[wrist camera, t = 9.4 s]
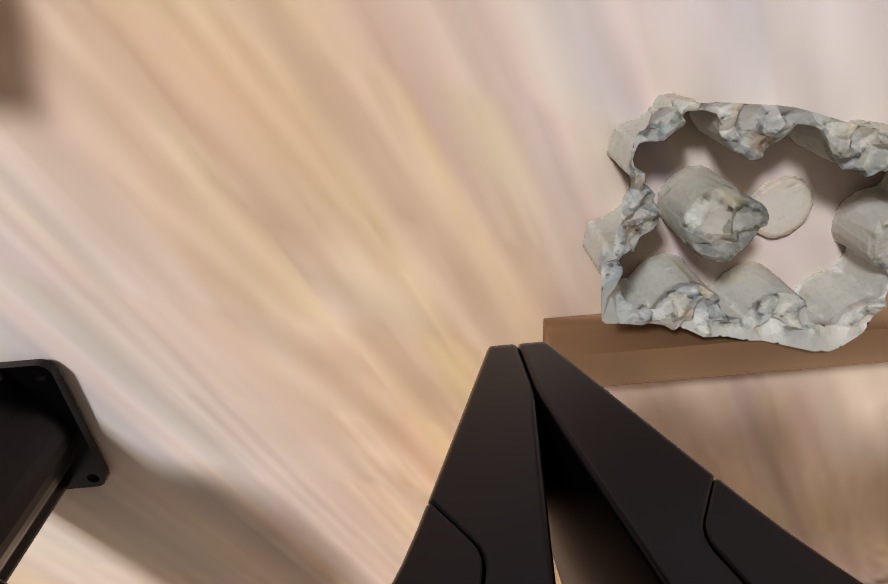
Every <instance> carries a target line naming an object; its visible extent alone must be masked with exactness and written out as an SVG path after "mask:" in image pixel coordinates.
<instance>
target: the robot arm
mask: <svg viewBox="0 0 888 584" xmlns="http://www.w3.org/2000/svg"><path fill="white" fill-rule="evenodd" d="M39 371H41V372H43V373H44V374H45V375H44V374H42V373H40V372H39ZM109 474H110V472H109V469H108V467H107V465H106V463H105V461H104V459H103V457H102V455H101V453H100V451H99V449H98V447H97V445H96V443H95V441H94V439H93V437H92V435H91V433H90V431H89V429H88V427H87V425H86V423H85V421H84V419H83V417H82V415H81V413H80V411H79V409H78V407H77V405H76V403H75V401H74V399H73V397H72V395H71V393H70V391H69V389H68V387H67V385H66V383H65V381H64V379H63V377H62V375H61V373H60V371H59V369H58V368H57V366H56V365H55V364H54V363H52V362H51V361H48V360H45V359H34V360H23V361H11V362H0V584H8V583H6V582H7V581H8V579H9V578H10V576H11V574H12V573H13V571H14V570H15V568H16V567H17V565H18V563H19V562H20V560H21V559H22V557H23V556H24V554H25V553H26V551H27V549H28V548H29V546H30V545H31V543H32V542H33V540H34V538H35V537H36V535H37V534H38V532H39V531H40V529H41V528H42V526H43V524H44V523H45V521H46V520H47V518H48V517H49V515H50V513H51V512H52V510H53V509H54V507H55V506H56V504H57V503H58V501H59V499H60V498H61V496H62V495H63V493H64V492H65V490H66V489H74V488H85V487H97V486H101V485H103V484H104V483H105V481H106V480H107V478H108V476H109ZM428 504H429V505H428V506H426V508H425V511H424V513H423V516H422V518H421V521H420V524H419V526H418V529H417V531H416V533H415V536H414V538H413V540H412V542H411V545H410V547H409V549H408V552H407V554H406V556H405V559H404V561H403V563H402V565H401V567H400V569H399V571H398V573H397V575H396V577H395V579H394V581H393V583H392V584H556V582H555V573H554V564H553V557H554V560H555V563H556V567H557V570H558V573H559V576H560V580H561V583H562V584H863V583H862V582H860V581H859V580H857V579H856V578H854V577H853V576H851V575H850V574H848V573H847V572H845V571H844V570H842V569H841V568H839V567H838V566H836V565H835V564H833V563H832V562H830V561H829V560H827V559H826V558H824V557H823V556H822V555H820V554H819V553H817V552H816V551H814V550H813V549H811V548H810V547H809V546H807V545H806V544H804V543H803V542H801V541H800V540H799V539H797V538H796V537H794V536H793V535H791V534H790V533H788V532H787V531H786V530H784V529H783V528H781V527H780V526H779V525H777V524H776V523H775V522H773V521H772V520H771V519H770V518H768V517H767V516H766V515H764V514H763V513H762V512H760V511H759V510H758V509H756V508H755V507H754V506H752V505H751V504H750V503H748V502H747V501H746V500H744V499H743V498H742V497H741V496H739V495H738V494H737V493H736V492H734V491H733V490H732V489H730V488H729V487H728V486H727V485H725V484H724V483H723V482H722V481H720V480H718V479H716V480H714V476H713V475H712V474H711V473H710V472H709V471H707V470H706V469H705V468H704V467H702V466H701V465H700V464H699V463H697V462H696V461H695V460H694V459H692V458H691V457H690V456H689V455H687V454H686V453H685V452H683V451H682V450H681V449H680V448H678V447H677V446H676V445H675V444H673V443H672V442H671V441H670V440H668V439H667V438H666V437H665V436H663V435H662V434H661V433H660V432H658V431H657V430H656V429H654V428H653V427H652V426H651V425H649V424H648V423H647V422H646V421H644V420H643V419H642V418H641V417H639V416H638V415H637V414H636V413H634V412H633V411H632V410H631V409H629V408H628V407H627V406H625V405H624V404H623V403H622V402H620V401H619V400H618V399H617V398H615V397H614V396H613V395H612V394H610V393H609V392H608V391H607V390H605V389H604V388H603V387H602V386H600V385H599V384H598V383H596V382H595V381H594V380H593V379H591V378H590V377H589V376H588V375H586V374H585V373H584V372H583V371H581V370H580V369H579V368H578V367H576V366H575V365H574V364H573V363H571V362H570V361H569V360H567V359H566V358H565V357H564V356H562V355H561V354H560V353H559V352H557V351H556V350H555V349H554V348H552V347H551V346H550V345H549V344H547V343H545V342H534V343H523V344H520V345H519V346H518V348H517V346H515V345H512V344H511V345H499V346H491V347H489V349H488V350H487V353H486V355H485V358H484V361H483V363H482V366H481V368H480V371H479V373H478V376H477V379H476V381H475V384H474V386H473V389H472V391H471V394H470V396H469V399H468V402H467V404H466V407H465V409H464V412H463V414H462V417H461V420H460V422H459V425H458V427H457V430H456V432H455V435H454V437H453V440H452V443H451V445H450V448H449V450H448V453H447V455H446V458H445V460H444V463H443V466H442V468H441V471H440V473H439V476H438V478H437V481H436V484H435V486H434V489H433V491H432V494H431V496H430V499H429V502H428ZM552 554H553V555H552Z"/></svg>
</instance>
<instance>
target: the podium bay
mask: <svg viewBox="0 0 888 584" xmlns="http://www.w3.org/2000/svg"><path fill="white" fill-rule="evenodd" d="M885 300H886V303H887V307H886V308H884V309H882V310H881V311H879V312H878V313H877V314H876V315H874V316H873V317H872V319H871V320H870V322H869V324H868V325H867V327H866V329H865V330H864V331H863V333H862V334H861V335H859V336H858V337H856V338H854V339H853V340H851V341H849V342H848V343H846V344H845V345H843V346H841V347H839V348H837V349H834V350H832V351H809V350H804V349H800V348H795V347H790V346H785V345H781V344H776V343H771V342H767V341H762V340H758V341H748V340H742V339H737V338H732V337H721V336H717V337H702V336H700V335H698V334H696V333H694V332H691V331H689V330H687V329H684V328H680V327H678V328H677V329H675V330H671V329H670V328H668V327H666V326H665V325H659V324H652V323H647V324H644V325H633V324H606V323H604V322H603V321H602V314H594V315H583V316H571V317H559V318H547V319H544V322H543V342H545V343H547V344H549V345H550V346H551V347H552V348H554V349H555V350H556V351H557V352H559V353H560V354H561V355H562V356H564V357H565V358H566V359H567V360H569V361H570V362H571V363H573V364H574V365H575V366H576V367H578V368H579V369H580V370H581V371H583V372H584V373H585V374H586V375H588V376H589V377H590V378H591V379H593V380H594V381H595V382H596V383H598V384H599V385H600V386H612V385H624V384H635V383H647V382H658V381H670V380H681V379H693V378H704V377H716V376H727V375H739V374H750V373H762V372H773V371H785V370H796V369H808V368H819V367H831V366H842V365H854V364H865V363H877V362H888V292H887V294H886V297H885Z"/></svg>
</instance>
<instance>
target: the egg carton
mask: <svg viewBox="0 0 888 584" xmlns="http://www.w3.org/2000/svg"><path fill="white" fill-rule="evenodd" d="M687 111H689V115H690V118H691V120H692V122H693V124H694V125H695V126H696V128H697V129H698V130H699V131H701V132H702V133H704V134H705V135H707V136H709V137H710V138H712V139H714V140H715V141H716V142H718V143H719V144H721V145H723V146H725V147H726V148H728V149H729V150H731V151H733V152H735V153H738V154H740V155H742V156H744V157H745V158H747V159H749V160H760V159H761V158H762V157H763V156H764V152H765V150H766V149H767V148H768V147H769V146H770V145H772V144H774V143H776V142H778V141H780V140H781V139H783V138H784V137H785V136H786V135H789V137H790V138H791V139H792V140H793V141H794V142H795V143H796V144H797V145H799V146H801V147H803V148H805V149H807V150H809V151H811V152H812V153H814V154H816V155H818V156H820V157H822V158H824V159H827V160H829V161H831V162H834V163H836V164H837V165H838V166H839V167H840V168H841V169H842V170H849V169H854V170H856V171H858V172H859V173H861V174H862V175H863V176H865V177H869V176H872V175H874V174H876V173H877V172H880V171H884V172H886V174H885V175H884V178H883V179H882V181H881V182H880V183H879V184H878V185H877V186H874V187H869V188H864V189H861V190H858V191H857V192H855V193H853V194H852V195H850V196H849V197H847V198H846V199H845V200H844V201H843V202H842V203H841V205H840V206H839V207H838V209H837V211H836V213H835V216H834V219H833V221H832V228H831V231H832V236H833V239H834V242H837V243H839V244H842V245H844V246H845V247H846V251H845V253H844V254H843V255H842V256H841V257H840V258H839V260H838V262H837V264H836V265H835V266H834V267H832V268H830V269H827V270H824V271H821V272H819V273H816V274H814V275H812V276H810V277H809V278H807V279H806V280H805V281H804V282H803V283H801V284H800V285H799V286H798V287H796V288H795V290H794V291H793V290H792V289H791V288H790V287H788V286H787V285H786V284H785V283H784V282H783V281H782V280H781V279H779V278H778V277H777V276H776V275H774V274H773V273H772V272H771V271H770V270H769V269H768V268H766V267H765V266H763V265H762V264H760V263H756V262H748V263H742V264H738V265H736V266H734V267H732V268H731V269H730V270H728V271H726V272H724V273H723V274H722V275H721V276H720V278H719V279H718V280H717V281H716V282H715V283H714V284H713V285H712V286H706V285H705V284H704V283H703V282H702V281H701V280H700V279H699V277H698V276H697V275H696V274H695V273H694V272H693V271H692V270H691V269H690V268H689V266H688V265H687V264H686V263H685V262H684V260H683V259H681V258H680V257H678V256H676V255H671V254H666V253H664V254H657V255H654V256H651V257H649V258H648V259H647V260H645V261H643V262H642V263H640V264H639V265H638V266H637V267H636V268H635V269H634V271H633V272H632V273H631V274H630V276H628V277H627V278H621V277H622V275H623V268H622V266H621V264H620V263H619V261H618V260H619V259H620V258H621V257H622V256H623V254H630V253H632V252H634V250H635V247H636V245H637V243H638V240H639V238H640V237H641V236H643V235H644V234H646V233H648V232H650V231H652V230H653V229H654V227H655V226H656V225H657V223H658V219H659V217H660V216H661V218H662V219H663V221H664V222H665V224H667V225H668V226H669V228H670V229H671V230H672V231H673V232H674V233H675V234H676V235H677V236H678V237H679V238H680V239H681V240H682V241H683V243H684V244H685V245H687V246H688V247H689V248H690V249H691V250H693V251H694V252H695V253H696V254H699V255H700V256H702V257H704V258H707V259H709V260H712V261H715V262H726V261H729V260H731V259H732V258H733V257H734V256H736V255H737V253H738V252H740V251H742V250H743V249H745V248H746V247H747V246H748V245H749V244H750V242H751V241H752V240H753V238H754V237H755V235H756V234H757V233H758V234H760V235H762V236H764V237H767V238H779V237H782V236H785V235H788V234H790V233H791V232H792V231H794V230H796V229H797V228H798V227H799V226H801V225H802V224H803V223H804V222H805V221H806V219H807V217H808V215H809V213H810V210H811V208H812V206H813V203H812V200H813V199H812V191H811V190H810V188H809V187H808V186H807V184H806V183H805V182H804V181H803V180H802V179H801V178H798V177H796V176H782V177H779V178H775V179H772V180H770V181H768V182H767V183H765V184H763V185H761V186H760V187H759V188H758V189H757V190H756V191H755V192H754V193H753V195H752V196H751V197H749V196H748V195H746V194H745V193H744V192H742V191H741V190H739V189H738V188H737V187H735V186H734V185H733V184H731V183H730V182H728V181H727V180H725V179H724V178H722V177H721V176H719V175H717V174H716V173H714V172H712V171H711V170H710V169H708V168H706V167H704V166H701V165H700V166H693V167H690V166H688V167H685V168H683V169H680V170H678V171H677V172H676V173H674V174H673V175H672V176H670V177H669V178H668V179H667V180H666V182H665V183H664V185H663V186H662V188H661V189H660V190H659V192H658V203H657V205H656V204H655V203H654V200H653V198H654V197H655V194H654V192H653V191H652V190H651V189H650V188H649V187H648V186H647V185H645V184H644V182H645V179H646V176H645V173H644V172H643V171H641V170H639V169H637V168H636V167H634V163H633V157H634V153H635V151H636V149H637V146H638V145H639V144H640V143H643V142H650V141H664V140H666V139H667V138H668V137H669V136H670V135H671V134H672V133H674V132H675V131H677V130H678V129H680V128H681V127H683V126H684V125H685V123H686V121H685V119H684V118H683V116H684V113H685V112H687ZM607 155H608V156H609V157H611V158H612V159H613V160H614V161H615V162H616V163H617V164H618V165H619V166H620V167H621V168H622V169H623V170H624V171H625V172H626V173H627V174H628V175H629V177H630V189H629V190H628V191H627V192H626V193H625V195H624V197H623V199H622V204H621V205H620V206H618V207H617V208H616V209H615V210H614V211H613V212H612V213H610V214H608V215H607V216H605V217H604V218H602V219H596V220H592V221H590V222H589V224H588V226H587V230H586V233H585V237H584V240H583V247H584V249H585V250H586V251H587V253H588V254H589V256H590V257H591V259H592V261H593V263H594V264H595V266H596V268H597V270H598V272H599V273H600V274H601V282H602V292H601V310H602V321H603V322H604V323H606V324H633V325H644V324H647V323H652V324H659V325H665V326H666V327H668V328H670V329H671V330H675V329H677V328H678V327H680V328H684V329H687V330H689V331H691V332H694V333H696V334H698V335H700V336H702V337H717V336H721V337H732V338H737V339H742V340H748V341H758V340H762V341H767V342H771V343H776V344H781V345H785V346H790V347H795V348H800V349H804V350H809V351H832V350H834V349H837V348H839V347H841V346H843V345H845V344H846V343H848V342H849V341H851V340H853V339H854V338H856V337H858V336H859V335H861V334H862V333H863V331H864V330H865V329H866V327H867V325H868V324H869V322H870V320H871V319H872V317H873V316H874V315H876V314H877V313H878V312H879V311H881V310H882V309H884V308H886V307H887V303H886V300H885V297H886V294H887V292H888V125H886V124H883V123H878V122H872V121H868V122H867V121H864V120H851V121H849V122H848V123H847V122H844V121H841V120H837V119H834V118H831V117H827V116H824V115H821V114H817V113H814V112H810V111H806V110H803V109H799V108H793V107H786V106H778V105H758V104H737V103H721V102H715V103H697V102H696V101H695V100H693V99H690V98H687V97H683V96H680V95H677V94H674V93H673V94H664V95H660V96H658V97H657V98H656V100H655V102H654V103H653V105H652V106H651V107H650V108H649V110H648V111H647V112H646V113H644V114H643V115H641V116H640V117H639V118H637V119H635V120H632V121H628V122H625V123H623V124H620V125H618V126H616V127H615V129H614V131H613V134H612V138H611V142H610V146H609V148H608V150H607Z"/></svg>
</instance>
